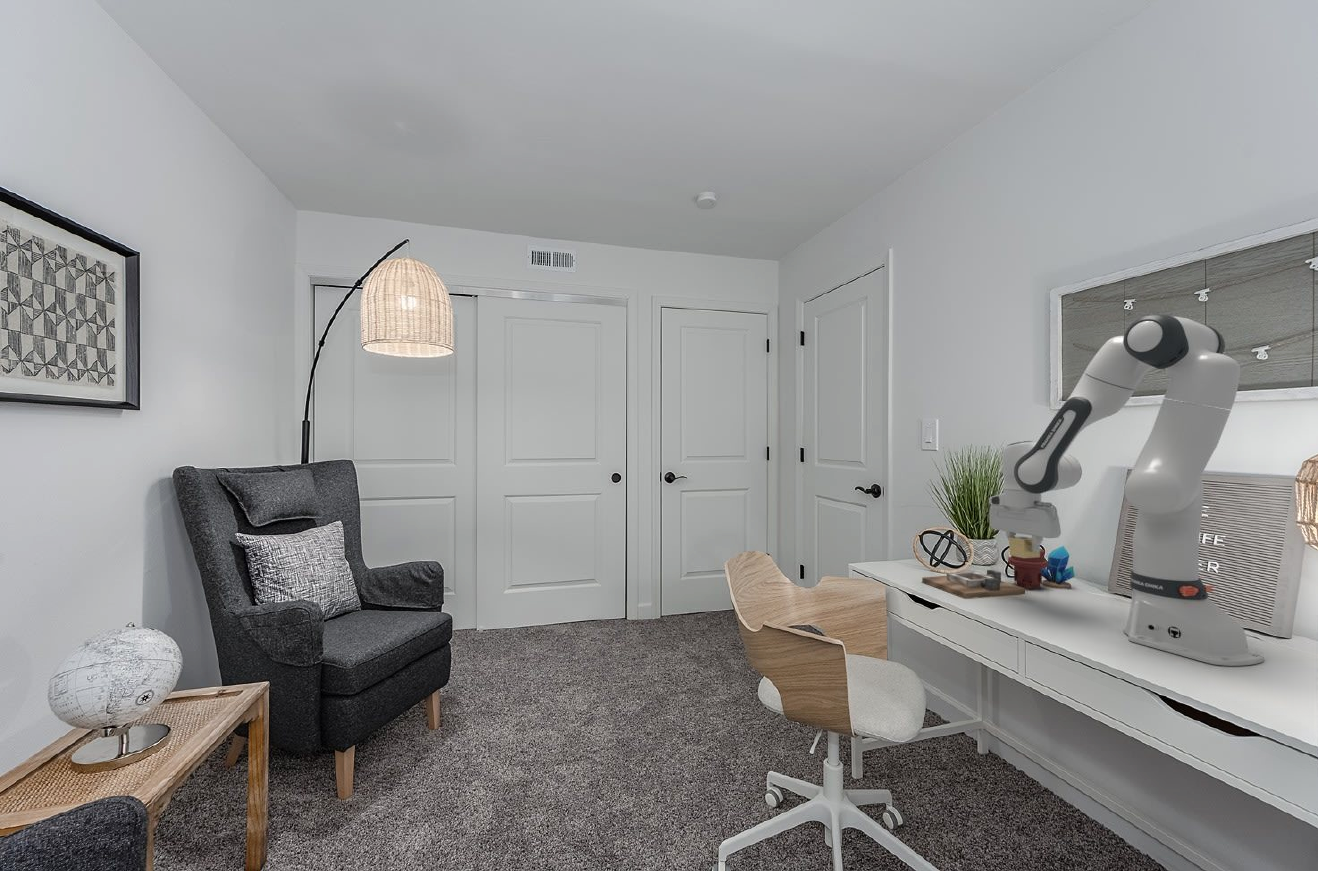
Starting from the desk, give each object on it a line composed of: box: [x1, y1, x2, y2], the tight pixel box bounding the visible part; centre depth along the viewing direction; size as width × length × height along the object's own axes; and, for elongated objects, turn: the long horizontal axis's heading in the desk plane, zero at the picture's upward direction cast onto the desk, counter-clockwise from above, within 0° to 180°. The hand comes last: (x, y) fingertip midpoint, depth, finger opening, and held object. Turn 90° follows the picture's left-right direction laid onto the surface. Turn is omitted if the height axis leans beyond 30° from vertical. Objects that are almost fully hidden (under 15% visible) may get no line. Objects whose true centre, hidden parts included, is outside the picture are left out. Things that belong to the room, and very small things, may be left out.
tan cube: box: [1008, 535, 1041, 558], centre depth 158 cm, size 5×5×5 cm
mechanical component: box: [1007, 548, 1048, 590], centre depth 171 cm, size 12×10×10 cm
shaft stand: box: [921, 569, 1026, 599], centre depth 171 cm, size 18×20×4 cm
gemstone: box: [1041, 545, 1075, 589], centre depth 172 cm, size 7×9×12 cm
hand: (1024, 550), depth 158 cm, fingers closed on tan cube, 5 cm apart
